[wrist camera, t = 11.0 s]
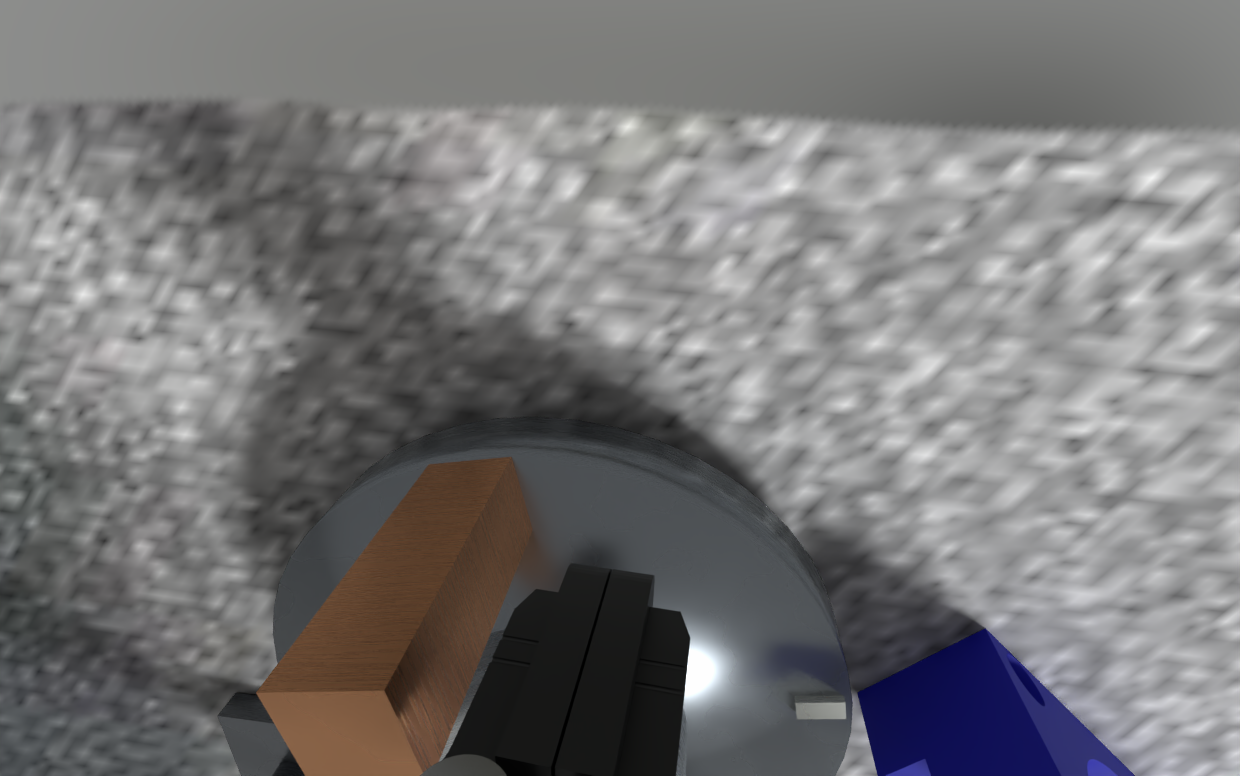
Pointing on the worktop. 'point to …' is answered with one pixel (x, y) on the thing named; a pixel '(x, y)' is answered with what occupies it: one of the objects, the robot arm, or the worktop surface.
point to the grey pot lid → (538, 559)
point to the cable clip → (977, 720)
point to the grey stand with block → (256, 739)
